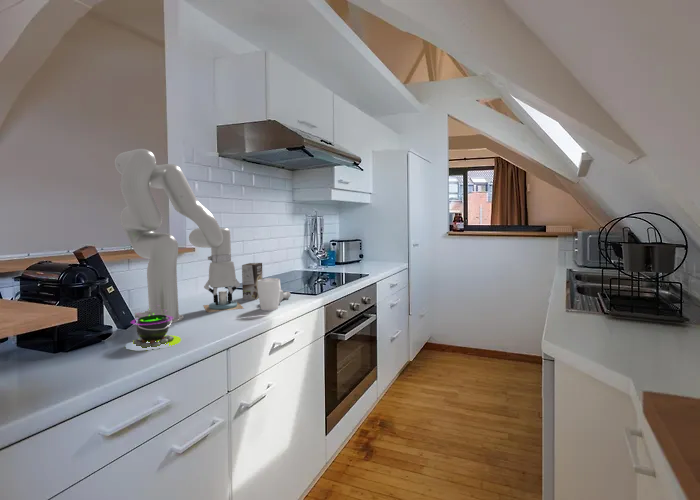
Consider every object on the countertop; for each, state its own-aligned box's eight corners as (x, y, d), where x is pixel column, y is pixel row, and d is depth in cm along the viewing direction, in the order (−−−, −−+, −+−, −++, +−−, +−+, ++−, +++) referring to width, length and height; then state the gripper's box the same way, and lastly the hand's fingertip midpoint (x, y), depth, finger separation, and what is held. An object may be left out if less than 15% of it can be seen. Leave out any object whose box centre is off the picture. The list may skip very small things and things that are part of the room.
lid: (210, 310, 157) (210, 295, 156) (207, 305, 167) (206, 290, 166) (239, 307, 162) (239, 292, 161) (234, 302, 171) (234, 288, 171)
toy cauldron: (149, 354, 109) (147, 314, 108) (112, 347, 115) (110, 309, 114) (192, 339, 123) (190, 303, 122) (157, 333, 129) (155, 299, 128)
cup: (276, 312, 155) (275, 282, 154) (254, 312, 157) (253, 281, 156) (284, 307, 164) (283, 278, 163) (263, 307, 166) (262, 278, 165)
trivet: (207, 313, 155) (207, 312, 155) (203, 306, 167) (203, 305, 167) (244, 309, 161) (244, 308, 161) (237, 303, 174) (237, 301, 173)
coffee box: (256, 301, 177) (255, 264, 176) (242, 301, 178) (241, 264, 177) (263, 297, 186) (262, 262, 185) (250, 297, 187) (249, 262, 186)
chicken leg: (297, 300, 182) (292, 283, 184) (280, 300, 165) (273, 281, 167) (282, 307, 184) (276, 290, 185) (262, 308, 166) (256, 289, 168)
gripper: (200, 260, 156) (202, 307, 157) (244, 258, 163) (245, 303, 164) (198, 259, 162) (200, 303, 164) (240, 256, 170) (242, 299, 171)
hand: (223, 303), depth 164 cm, fingers open, 4 cm apart
